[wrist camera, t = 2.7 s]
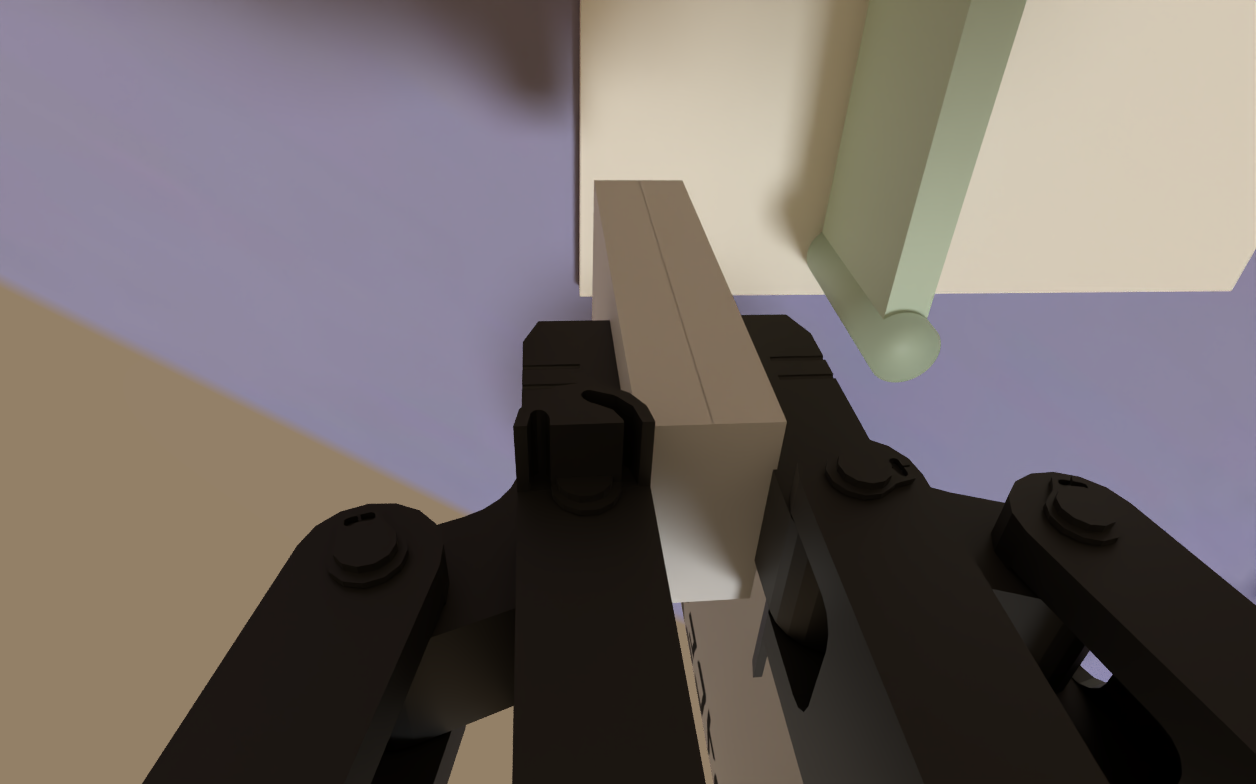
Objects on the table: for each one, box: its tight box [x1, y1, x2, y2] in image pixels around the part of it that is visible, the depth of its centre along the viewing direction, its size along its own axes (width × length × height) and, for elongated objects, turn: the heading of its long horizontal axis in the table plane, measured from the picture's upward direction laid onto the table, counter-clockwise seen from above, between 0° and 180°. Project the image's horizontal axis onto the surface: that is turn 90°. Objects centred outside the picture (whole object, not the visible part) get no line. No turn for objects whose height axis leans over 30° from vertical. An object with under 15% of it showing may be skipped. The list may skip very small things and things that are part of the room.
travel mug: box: [681, 568, 803, 784], centre depth 19 cm, size 6×7×20 cm
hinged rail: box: [807, 0, 1027, 382], centre depth 16 cm, size 10×2×5 cm, turn 178°
